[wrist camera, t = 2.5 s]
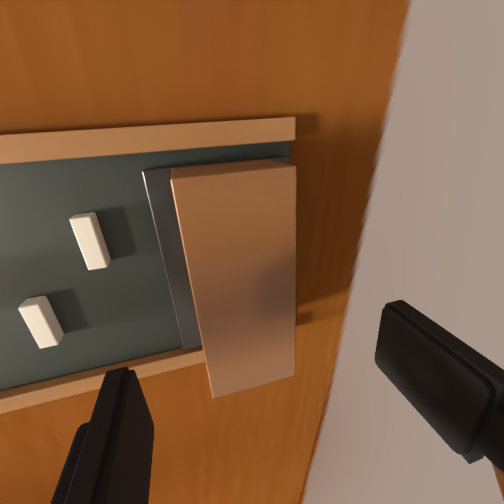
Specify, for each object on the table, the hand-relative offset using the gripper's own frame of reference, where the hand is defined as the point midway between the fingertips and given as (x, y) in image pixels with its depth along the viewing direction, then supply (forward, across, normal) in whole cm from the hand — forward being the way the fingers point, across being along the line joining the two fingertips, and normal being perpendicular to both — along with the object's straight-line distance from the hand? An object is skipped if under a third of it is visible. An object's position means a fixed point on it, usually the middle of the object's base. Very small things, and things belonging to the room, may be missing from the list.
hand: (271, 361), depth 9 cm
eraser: (+9, 0, 0) cm, 9 cm away
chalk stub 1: (+9, +12, +2) cm, 15 cm away
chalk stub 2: (+9, +8, -3) cm, 12 cm away
